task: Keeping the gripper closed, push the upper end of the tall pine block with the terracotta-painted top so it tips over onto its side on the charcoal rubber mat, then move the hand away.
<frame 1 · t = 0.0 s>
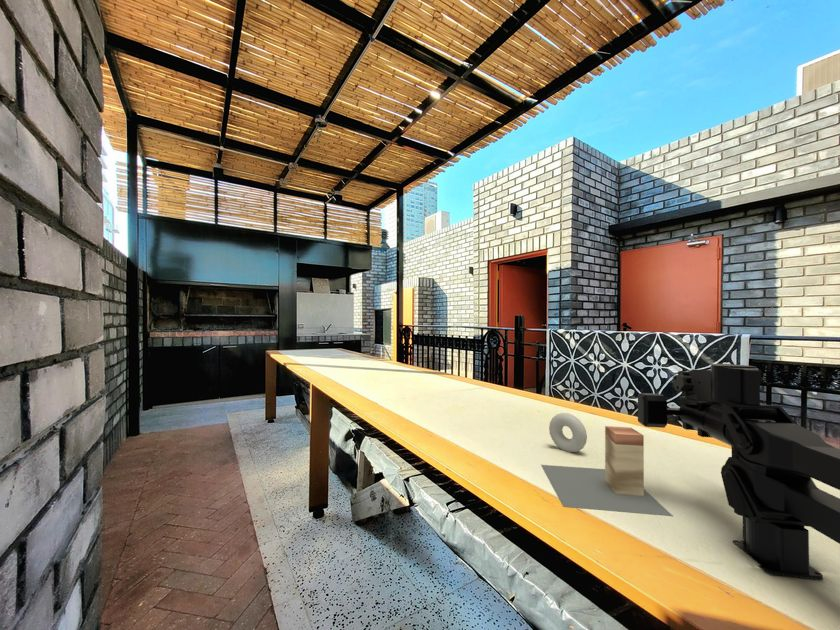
hand: (666, 402, 73), 17 cm above the table, tool horizontal, fingers open, 9 cm apart
rubber mat: (597, 489, 67), on the table
pine block: (623, 488, 67), resting on rubber mat
donut: (567, 452, 87), on the table
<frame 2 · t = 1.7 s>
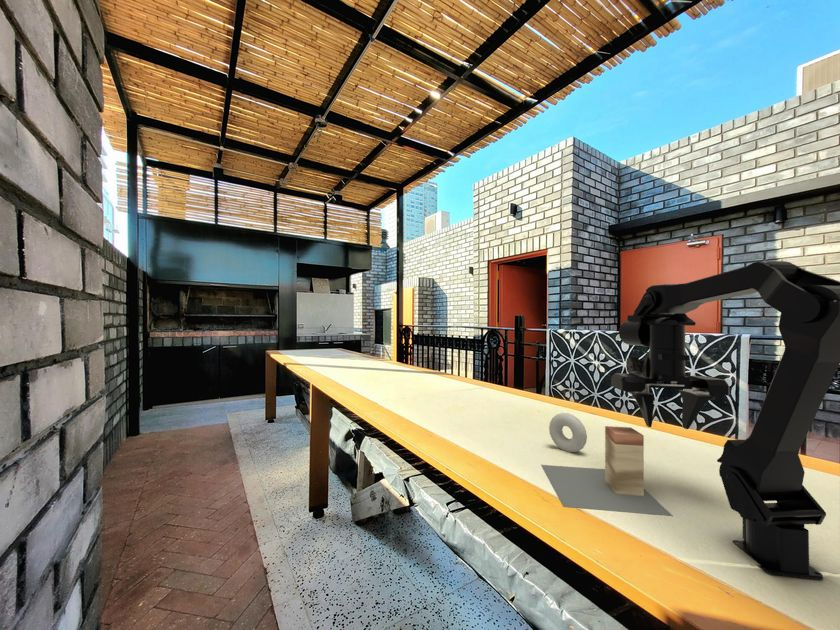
hand: (667, 427, 66), 13 cm above the table, tool pointing down, fingers open, 6 cm apart
nothing on the table moved.
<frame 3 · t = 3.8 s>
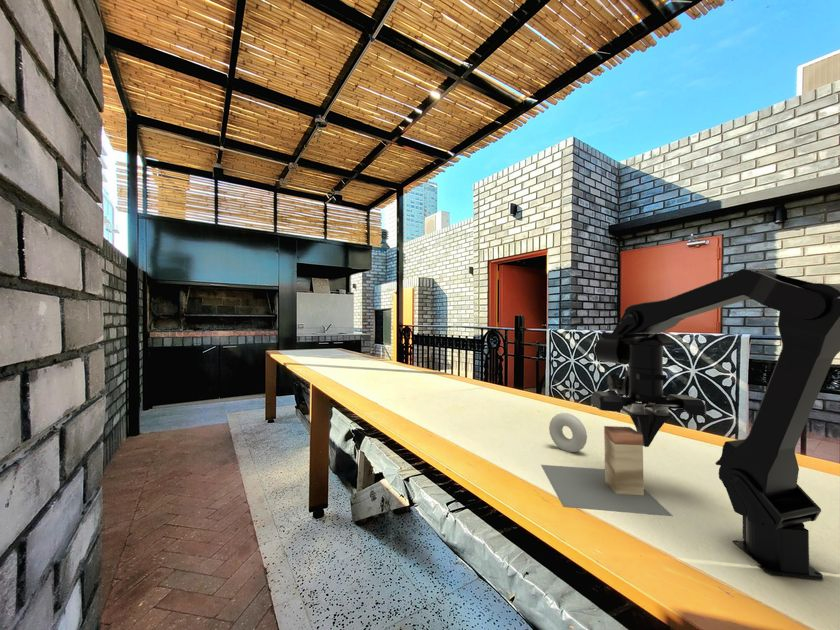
hand: (645, 446, 66), 9 cm above the table, tool pointing down, fingers closed
pine block: (623, 488, 67), point 1 cm above the table, touching gripper, rubber mat
everything else where it was.
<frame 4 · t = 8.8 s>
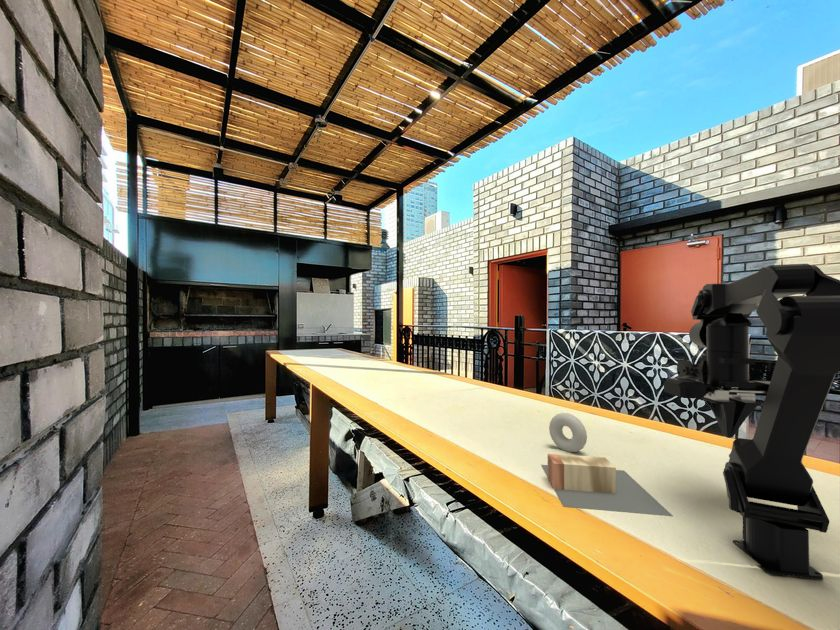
hand: (727, 436, 61), 13 cm above the table, tool pointing down, fingers closed
pine block: (610, 474, 67), point 3 cm above the table, tilted 90°, touching rubber mat
everything else where it was.
at the end: pine block tilted 90°; pine block inside the target area on the rubber mat (2.5 cm from its centre), point 3.0 cm above the rubber mat's base; the gripper is holding nothing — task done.
